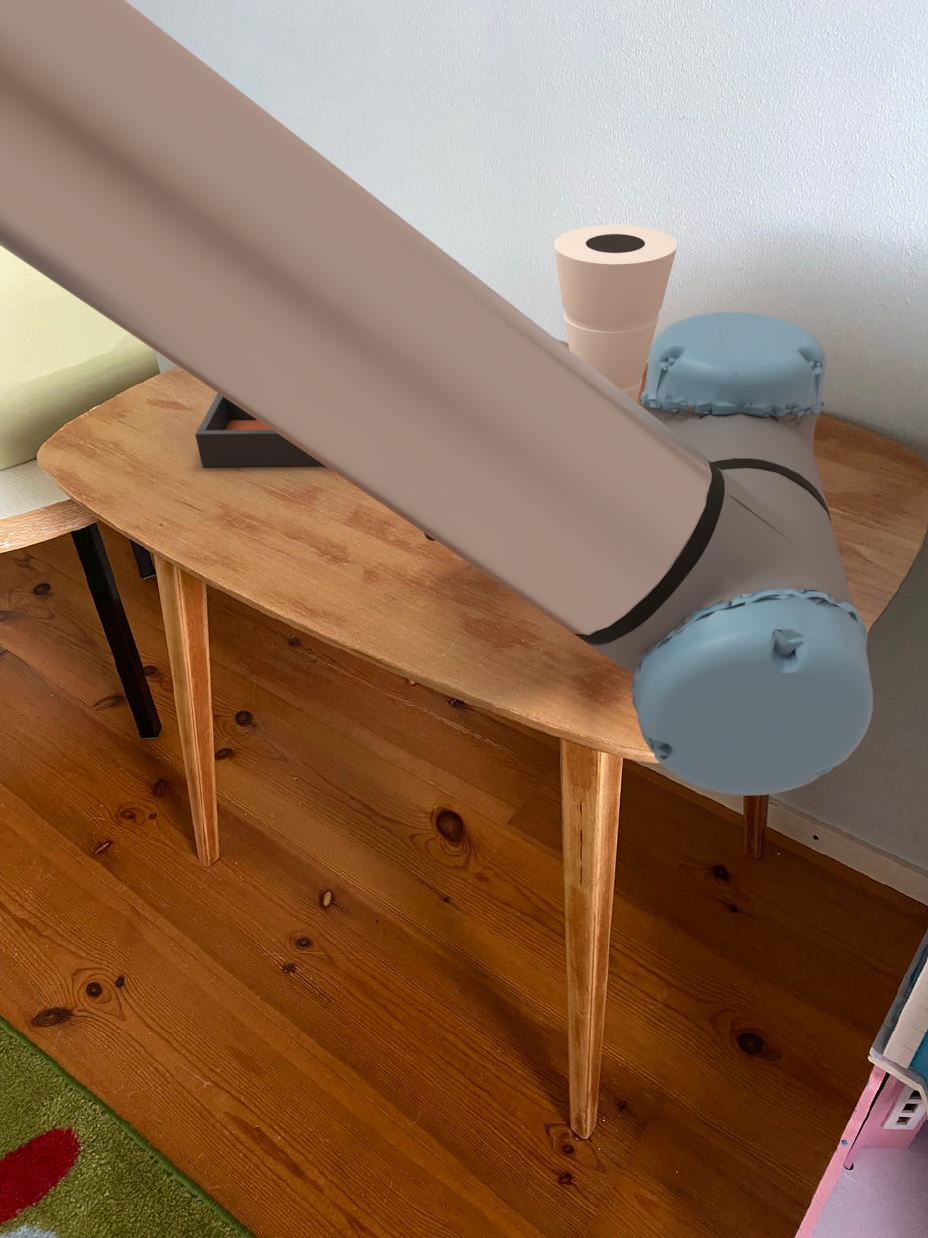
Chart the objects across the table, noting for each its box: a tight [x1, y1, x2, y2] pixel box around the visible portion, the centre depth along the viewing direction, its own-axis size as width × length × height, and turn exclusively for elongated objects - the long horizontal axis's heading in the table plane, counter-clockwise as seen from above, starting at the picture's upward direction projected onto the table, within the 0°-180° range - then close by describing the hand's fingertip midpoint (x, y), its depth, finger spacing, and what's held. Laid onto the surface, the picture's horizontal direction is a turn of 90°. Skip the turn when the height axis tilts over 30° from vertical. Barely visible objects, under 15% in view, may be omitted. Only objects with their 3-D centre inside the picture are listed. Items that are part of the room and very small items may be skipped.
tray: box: [194, 392, 326, 468], centre depth 96 cm, size 9×17×4 cm, turn 88°
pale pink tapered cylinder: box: [553, 224, 678, 403], centre depth 91 cm, size 11×11×18 cm
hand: (389, 395), depth 73 cm, fingers closed on utensil holder, 5 cm apart
